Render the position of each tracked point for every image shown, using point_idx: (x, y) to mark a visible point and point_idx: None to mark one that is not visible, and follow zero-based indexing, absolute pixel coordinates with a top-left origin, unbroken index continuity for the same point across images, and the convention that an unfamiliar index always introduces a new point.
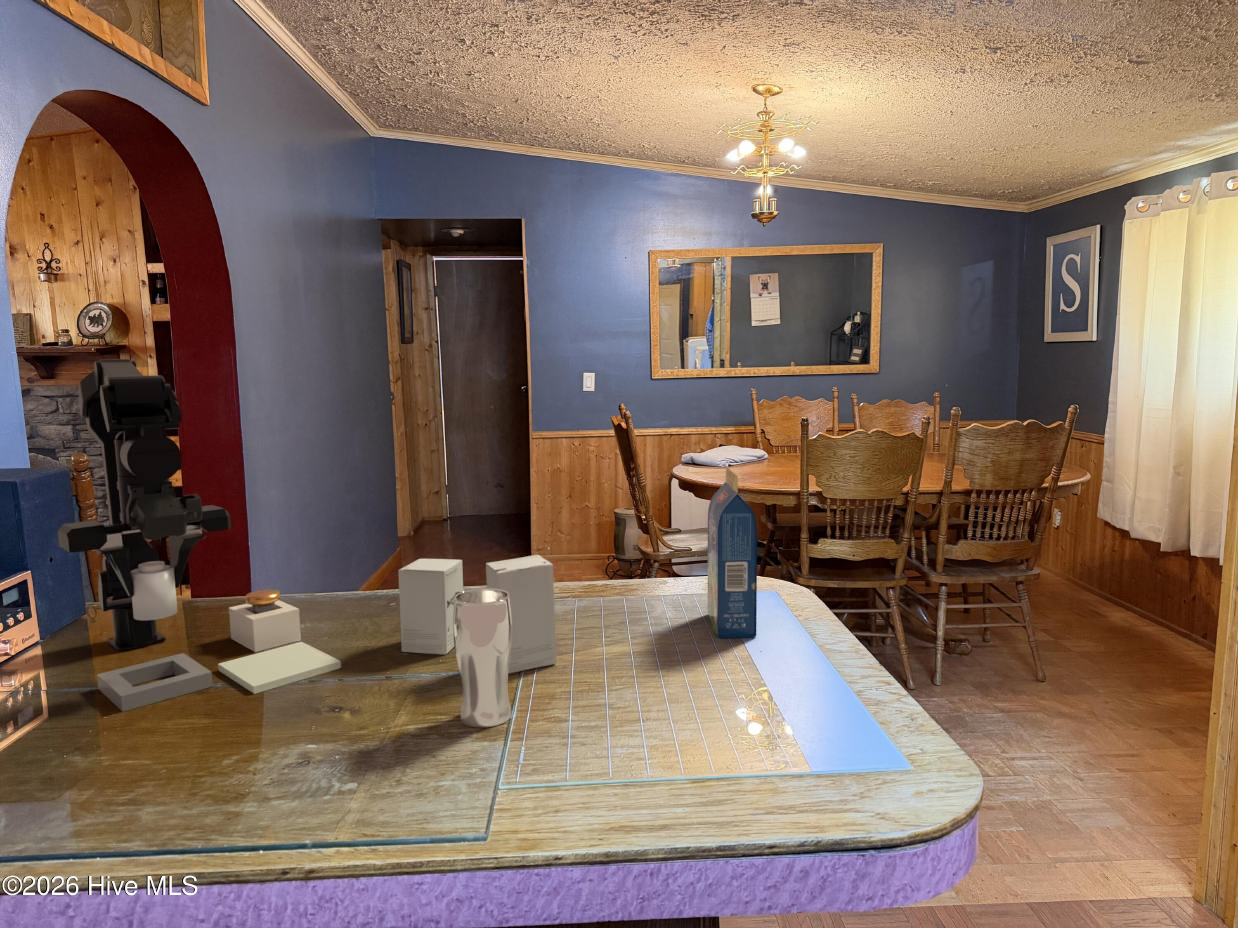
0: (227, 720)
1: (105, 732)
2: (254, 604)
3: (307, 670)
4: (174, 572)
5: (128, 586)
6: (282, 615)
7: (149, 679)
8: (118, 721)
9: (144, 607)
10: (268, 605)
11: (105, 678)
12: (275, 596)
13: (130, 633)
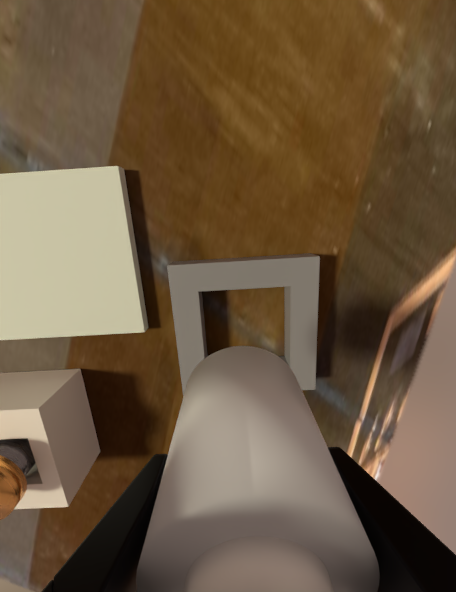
0: (193, 69)
1: (356, 182)
2: (11, 462)
3: (12, 175)
4: (145, 535)
5: (371, 483)
6: None
7: None
8: (327, 216)
9: (291, 382)
10: None
11: (311, 361)
12: None
13: None
